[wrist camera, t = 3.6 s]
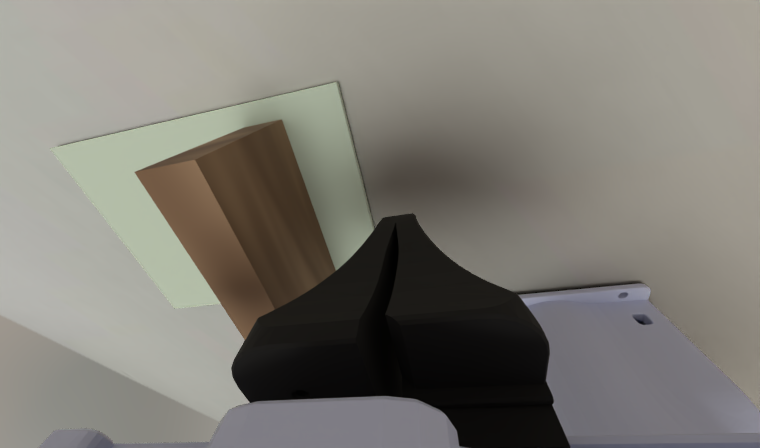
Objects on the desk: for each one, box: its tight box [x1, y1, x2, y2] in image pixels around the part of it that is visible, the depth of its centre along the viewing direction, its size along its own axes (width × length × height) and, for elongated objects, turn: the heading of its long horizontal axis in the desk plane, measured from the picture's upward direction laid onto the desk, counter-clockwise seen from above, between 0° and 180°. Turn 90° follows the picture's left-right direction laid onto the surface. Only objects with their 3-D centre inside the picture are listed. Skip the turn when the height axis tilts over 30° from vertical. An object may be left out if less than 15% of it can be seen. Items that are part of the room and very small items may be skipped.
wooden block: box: [135, 119, 336, 340], centre depth 13 cm, size 2×10×6 cm, turn 12°
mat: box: [50, 82, 374, 309], centre depth 17 cm, size 16×12×1 cm
